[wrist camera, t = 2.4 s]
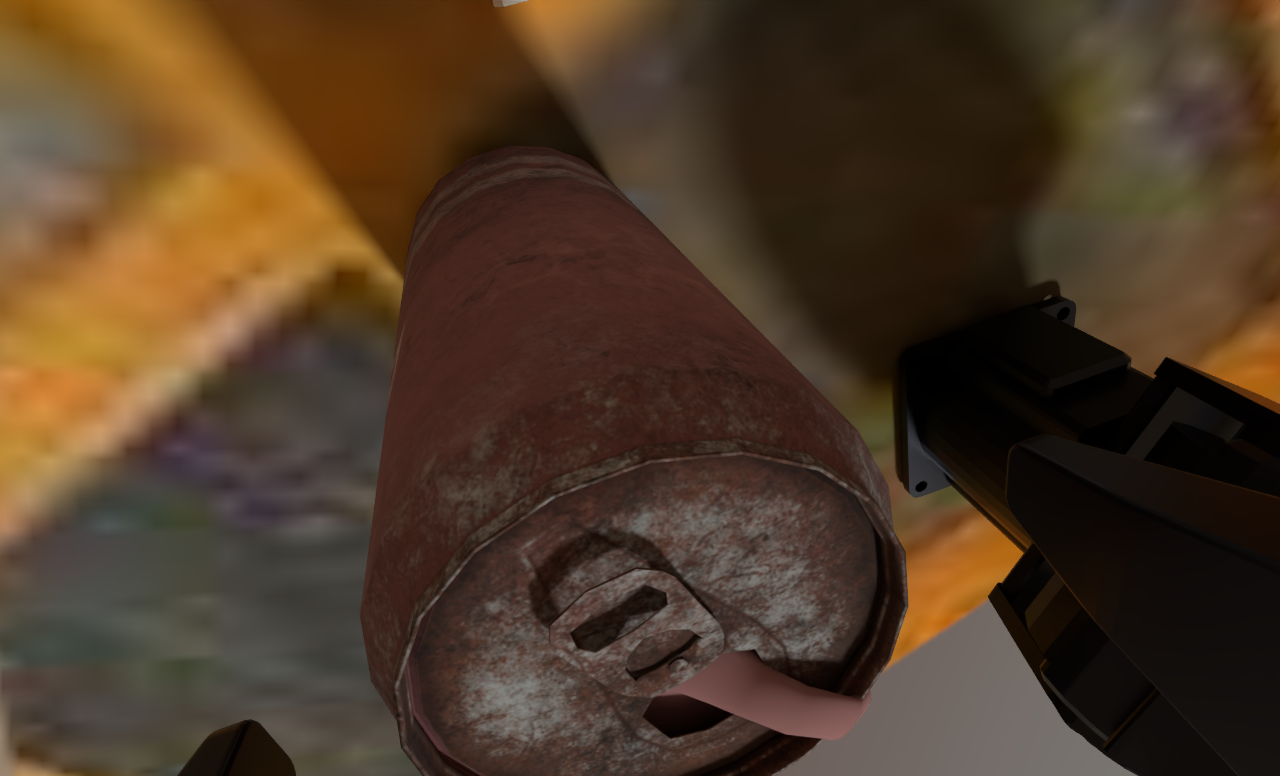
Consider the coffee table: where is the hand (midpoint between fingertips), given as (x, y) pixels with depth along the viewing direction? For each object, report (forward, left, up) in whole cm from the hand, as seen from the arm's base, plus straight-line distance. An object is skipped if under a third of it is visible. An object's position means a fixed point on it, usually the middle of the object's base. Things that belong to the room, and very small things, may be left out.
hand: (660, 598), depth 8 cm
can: (0, 0, -13) cm, 13 cm away
